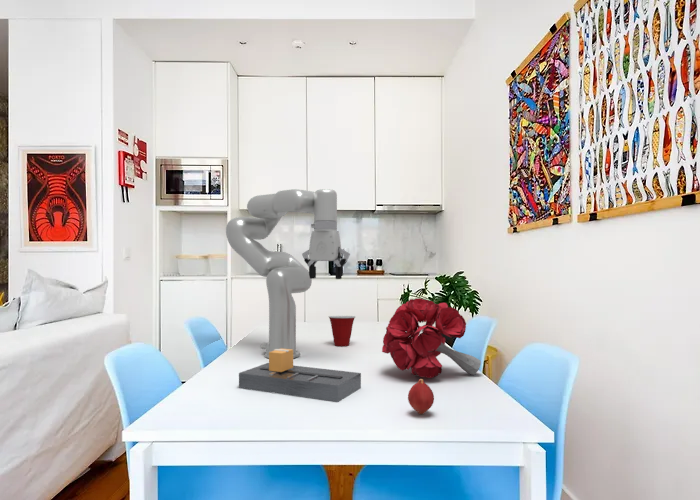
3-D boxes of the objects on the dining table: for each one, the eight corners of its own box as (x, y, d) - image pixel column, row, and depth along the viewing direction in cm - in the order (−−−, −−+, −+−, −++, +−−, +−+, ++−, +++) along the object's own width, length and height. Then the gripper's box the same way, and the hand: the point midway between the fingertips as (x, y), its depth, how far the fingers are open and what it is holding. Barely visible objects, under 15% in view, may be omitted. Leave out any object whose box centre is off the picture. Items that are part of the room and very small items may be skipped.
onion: (405, 410, 111) (405, 375, 111) (430, 409, 112) (430, 375, 112) (411, 418, 105) (411, 382, 105) (436, 418, 106) (436, 381, 106)
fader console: (238, 387, 130) (238, 371, 130) (268, 376, 143) (268, 361, 143) (337, 402, 117) (337, 384, 117) (360, 387, 130) (360, 371, 130)
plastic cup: (355, 342, 198) (355, 313, 198) (355, 347, 187) (355, 317, 187) (329, 342, 198) (329, 313, 198) (327, 347, 187) (327, 316, 187)
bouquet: (449, 386, 156) (370, 341, 156) (487, 324, 155) (406, 278, 154) (464, 412, 135) (372, 360, 134) (508, 341, 133) (415, 287, 133)
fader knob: (268, 370, 131) (268, 351, 131) (280, 365, 136) (280, 347, 136) (281, 372, 129) (281, 352, 129) (293, 367, 134) (293, 348, 134)
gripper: (297, 227, 159) (297, 278, 159) (344, 225, 152) (344, 279, 152) (308, 228, 166) (308, 277, 166) (353, 227, 159) (353, 278, 158)
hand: (325, 278), depth 159 cm, fingers open, 9 cm apart
